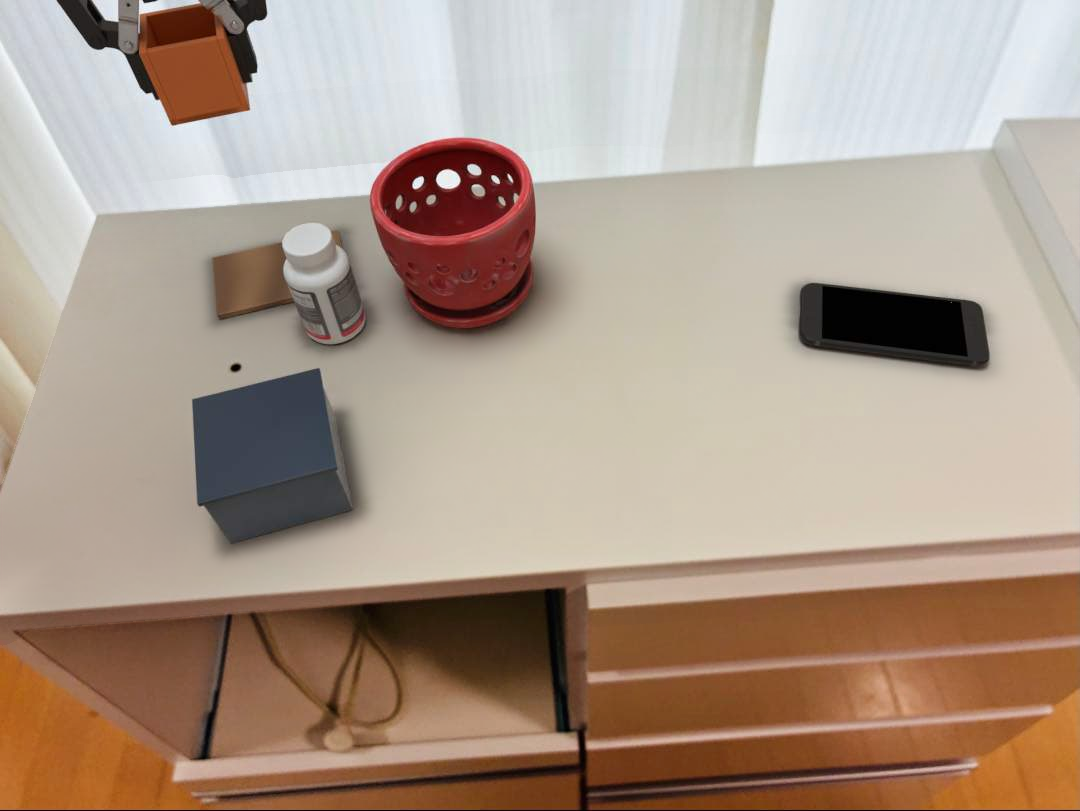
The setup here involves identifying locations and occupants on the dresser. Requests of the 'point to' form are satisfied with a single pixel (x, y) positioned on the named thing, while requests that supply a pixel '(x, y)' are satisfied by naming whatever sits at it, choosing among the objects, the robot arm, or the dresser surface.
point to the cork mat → (252, 280)
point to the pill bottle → (322, 284)
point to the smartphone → (893, 324)
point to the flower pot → (458, 230)
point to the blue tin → (269, 456)
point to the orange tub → (191, 64)
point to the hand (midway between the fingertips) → (204, 84)
